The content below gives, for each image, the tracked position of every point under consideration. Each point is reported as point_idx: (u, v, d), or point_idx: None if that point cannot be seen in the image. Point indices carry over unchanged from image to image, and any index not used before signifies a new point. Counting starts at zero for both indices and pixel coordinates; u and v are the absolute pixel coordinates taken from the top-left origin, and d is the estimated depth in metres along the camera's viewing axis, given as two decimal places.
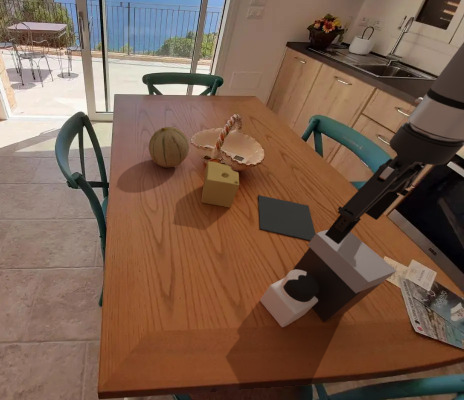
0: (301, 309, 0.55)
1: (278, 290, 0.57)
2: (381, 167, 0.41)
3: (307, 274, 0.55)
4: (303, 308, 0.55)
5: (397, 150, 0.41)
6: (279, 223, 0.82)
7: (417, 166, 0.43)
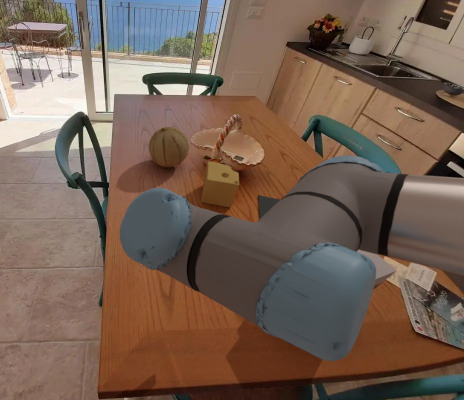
0: None
1: None
2: None
3: None
4: None
5: None
6: None
7: None
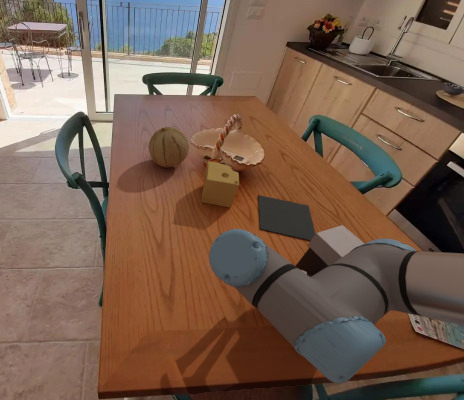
0: None
1: None
2: None
3: (307, 274, 0.55)
4: None
5: None
6: (279, 223, 0.82)
7: None
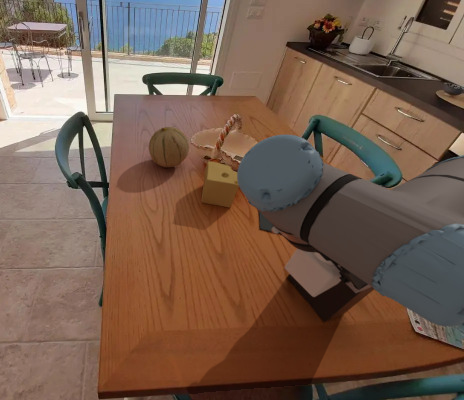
0: None
1: (309, 252, 0.48)
2: (349, 274, 0.35)
3: None
4: None
5: None
6: None
7: None
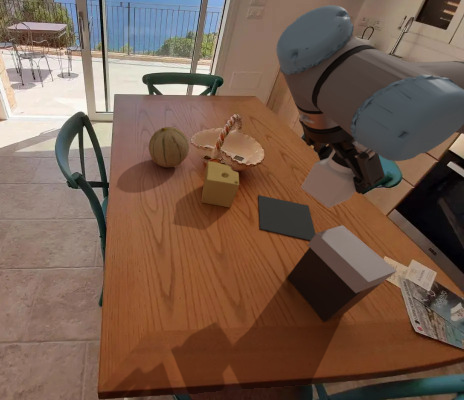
0: (352, 178, 0.50)
1: (325, 165, 0.53)
2: (366, 159, 0.41)
3: None
4: None
5: (342, 139, 0.41)
6: (279, 223, 0.82)
7: None
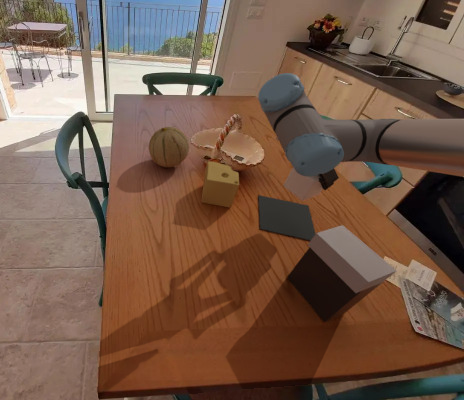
0: (318, 179, 0.69)
1: None
2: None
3: None
4: None
5: None
6: (279, 223, 0.82)
7: None
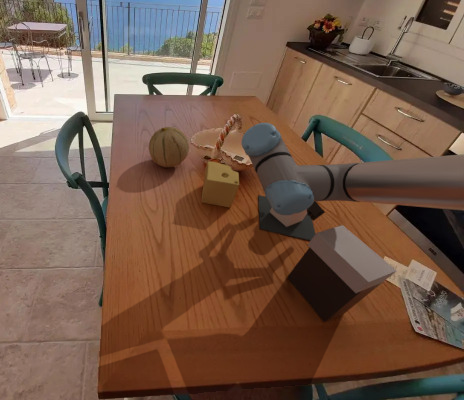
0: None
1: None
2: None
3: None
4: None
5: None
6: (279, 223, 0.82)
7: None
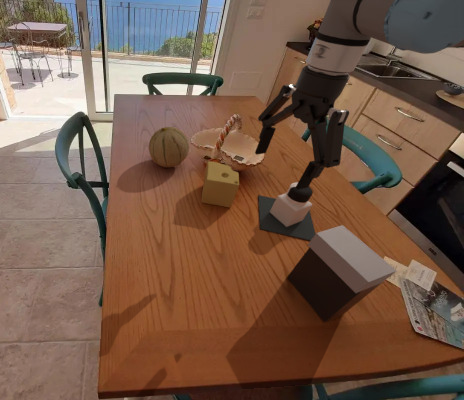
0: (300, 208, 0.77)
1: (283, 198, 0.79)
2: (339, 115, 0.45)
3: None
4: (301, 208, 0.77)
5: (327, 96, 0.46)
6: (279, 223, 0.82)
7: None
